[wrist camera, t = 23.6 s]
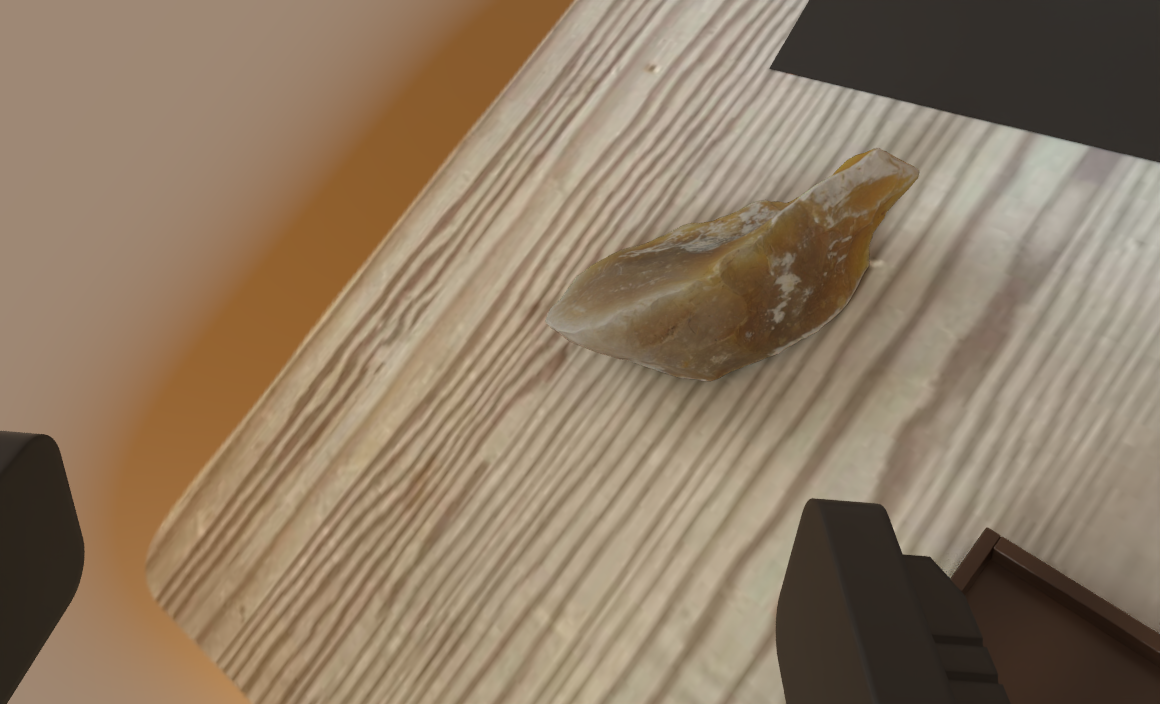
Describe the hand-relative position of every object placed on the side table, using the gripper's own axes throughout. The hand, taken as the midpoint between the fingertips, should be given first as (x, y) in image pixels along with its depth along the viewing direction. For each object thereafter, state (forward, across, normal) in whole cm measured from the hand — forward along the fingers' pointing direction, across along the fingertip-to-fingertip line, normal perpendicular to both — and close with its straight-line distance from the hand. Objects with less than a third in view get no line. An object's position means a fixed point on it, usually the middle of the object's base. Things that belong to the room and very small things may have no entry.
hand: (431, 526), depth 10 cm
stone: (+27, -9, +11) cm, 30 cm away
